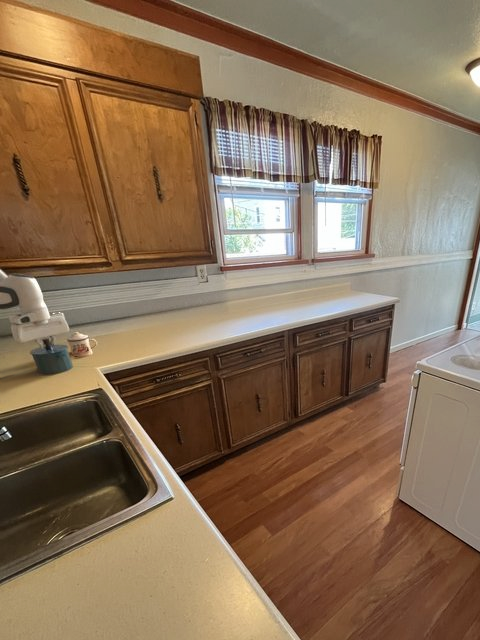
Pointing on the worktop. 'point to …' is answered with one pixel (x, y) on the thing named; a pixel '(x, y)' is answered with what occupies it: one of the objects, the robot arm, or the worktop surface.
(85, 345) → the teacup with lid
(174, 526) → the worktop surface
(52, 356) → the tin
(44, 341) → the lid
